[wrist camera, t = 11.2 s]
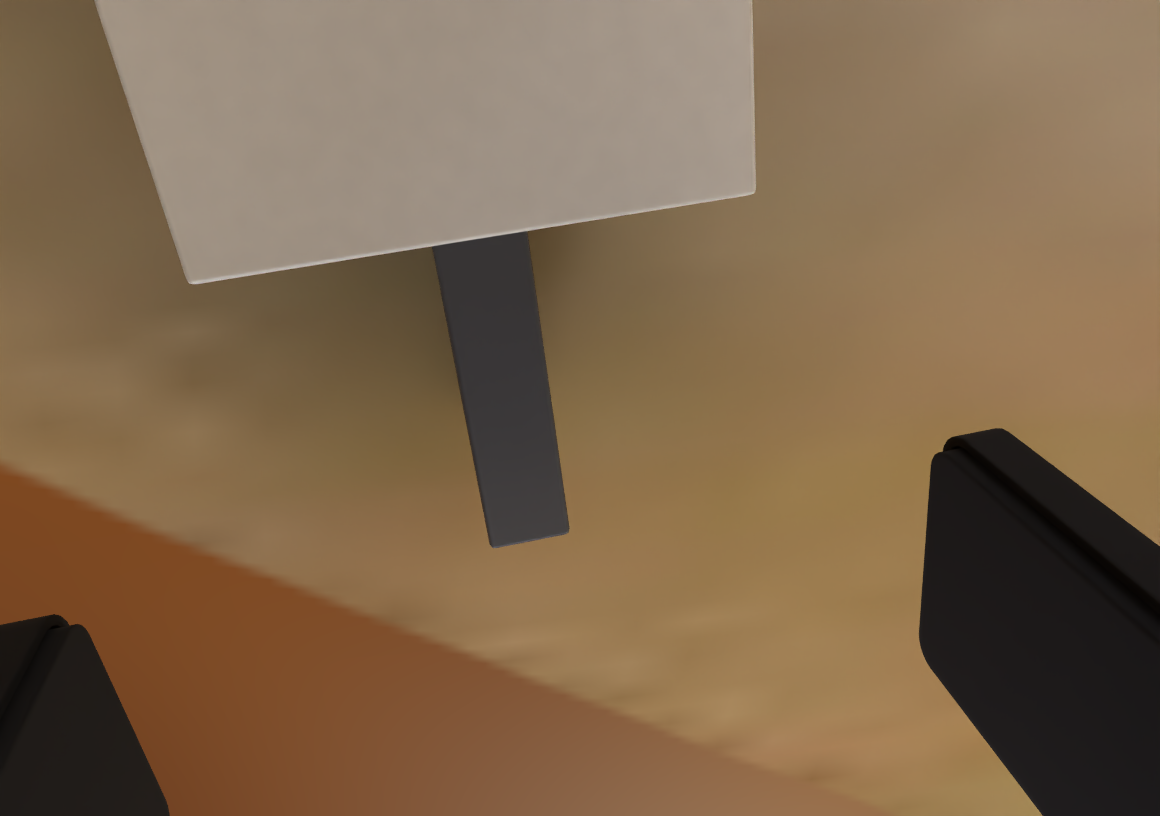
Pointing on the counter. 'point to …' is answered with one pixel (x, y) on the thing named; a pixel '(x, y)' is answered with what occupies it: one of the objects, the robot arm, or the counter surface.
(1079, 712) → the robot arm
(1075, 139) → the counter surface
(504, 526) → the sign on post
